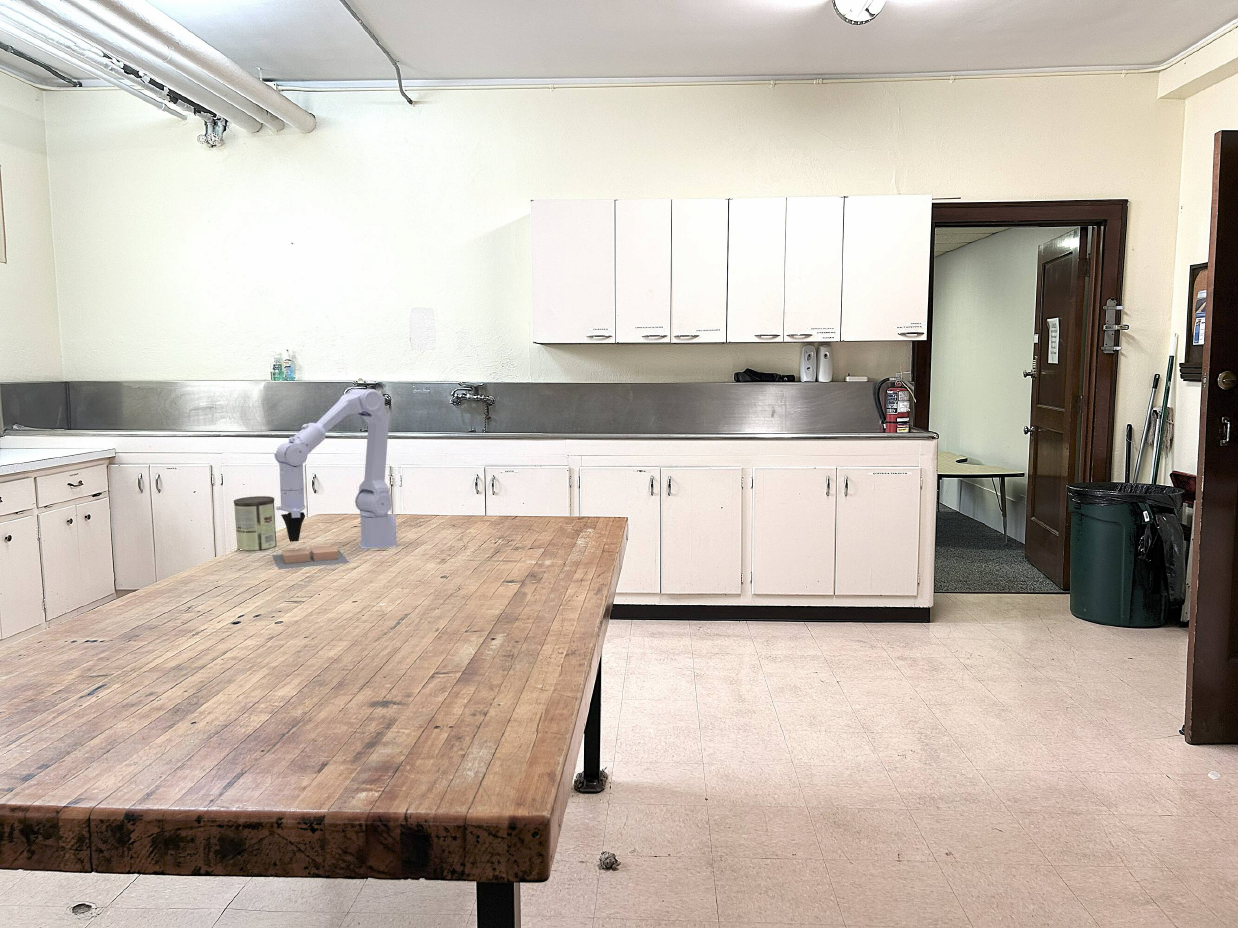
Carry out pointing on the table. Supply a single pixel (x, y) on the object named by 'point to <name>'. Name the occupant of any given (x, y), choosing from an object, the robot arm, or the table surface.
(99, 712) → the table surface
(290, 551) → the tile
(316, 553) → the tile
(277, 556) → the slate mat
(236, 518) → the coffee can
